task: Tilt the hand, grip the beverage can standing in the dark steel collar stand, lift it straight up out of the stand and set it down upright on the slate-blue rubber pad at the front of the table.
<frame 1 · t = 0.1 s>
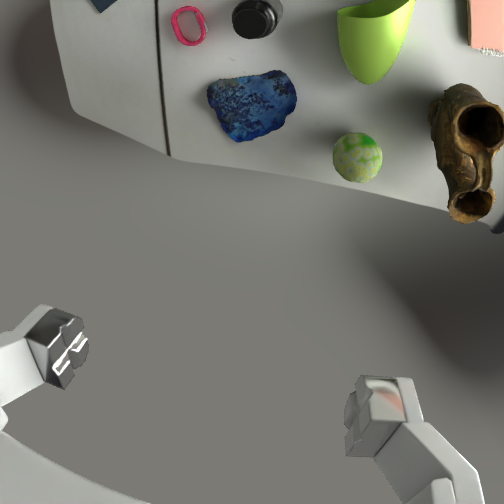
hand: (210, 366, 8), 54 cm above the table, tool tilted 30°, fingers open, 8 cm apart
supplement bottle: (263, 9, 42), on the table
fitness band: (190, 25, 46), on the table
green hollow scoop: (372, 28, 41), on the table
pottery vessel: (450, 118, 50), on the table
rock: (254, 102, 58), on the table
decorative ball: (356, 142, 61), on the table
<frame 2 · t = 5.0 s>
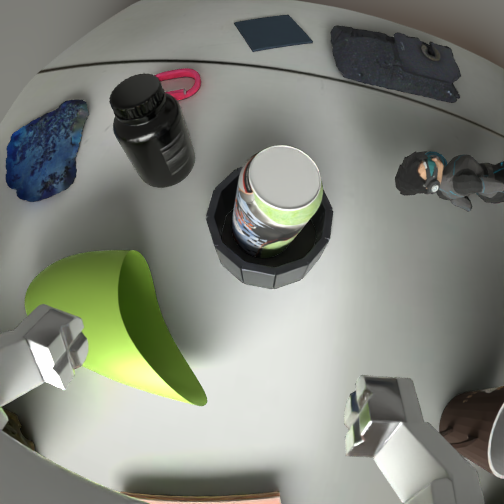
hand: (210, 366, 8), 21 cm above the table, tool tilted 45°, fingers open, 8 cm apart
can stand: (268, 235, 32), on the table
rubber pad: (272, 32, 44), on the table
beverage can: (268, 235, 32), resting in can stand
supplement bottle: (167, 165, 35), on the table
fitness band: (172, 89, 40), on the table
coffee mug: (452, 416, 25), on the table
dark slate chunk: (394, 63, 42), on the table
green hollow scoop: (118, 324, 30), on the table
pottery vessel: (7, 445, 24), on the table
rock: (46, 154, 37), on the table
figurine: (474, 187, 34), on the table
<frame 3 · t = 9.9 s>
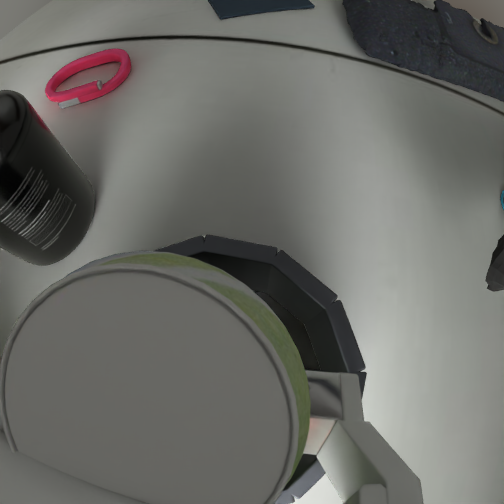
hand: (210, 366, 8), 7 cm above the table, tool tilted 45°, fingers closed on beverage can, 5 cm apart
can stand: (223, 377, 15), on the table
beverage can: (208, 374, 15), resting in can stand, touching gripper
supplement bottle: (55, 219, 18), on the table
fitness band: (90, 83, 23), on the table
dark slate chunk: (435, 43, 25), on the table
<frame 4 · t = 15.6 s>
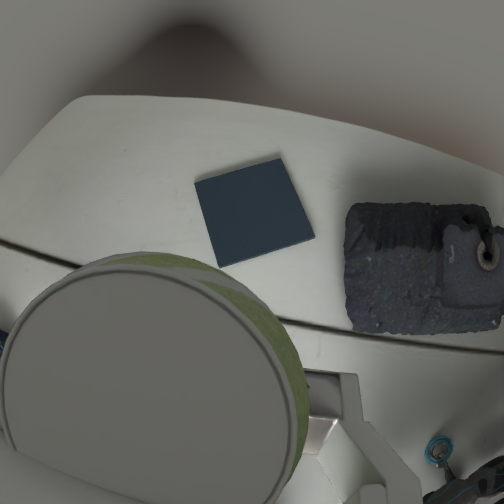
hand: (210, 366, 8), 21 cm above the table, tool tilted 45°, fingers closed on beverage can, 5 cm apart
rubber pad: (252, 209, 34), on the table
beverage can: (207, 374, 15), point 14 cm above the table, touching gripper
dark slate chunk: (432, 265, 31), on the table
figurine: (475, 458, 24), on the table
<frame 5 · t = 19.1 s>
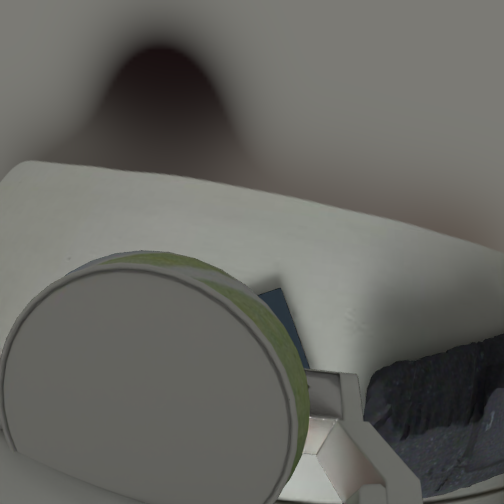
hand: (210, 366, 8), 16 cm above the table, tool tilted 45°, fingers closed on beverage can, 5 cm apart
rubber pad: (239, 369, 23), on the table
beverage can: (207, 374, 15), point 9 cm above the table, touching gripper
dark slate chunk: (463, 416, 21), on the table
when the fingers open (7 cm above the table, at t = 21.9 s): beverage can stays where it is, resting on rubber pad.
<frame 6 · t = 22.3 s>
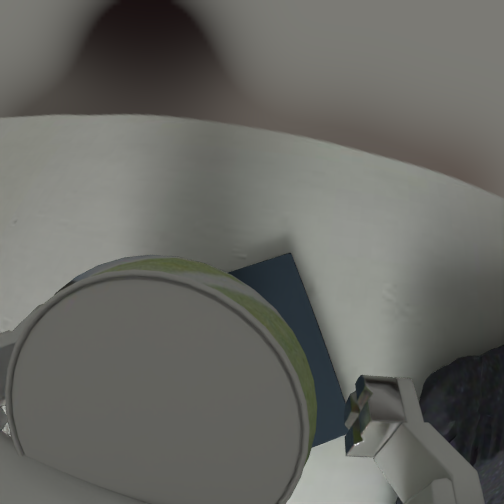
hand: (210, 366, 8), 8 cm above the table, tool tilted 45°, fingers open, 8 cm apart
rubber pad: (228, 374, 15), on the table
beverage can: (206, 373, 15), resting on rubber pad
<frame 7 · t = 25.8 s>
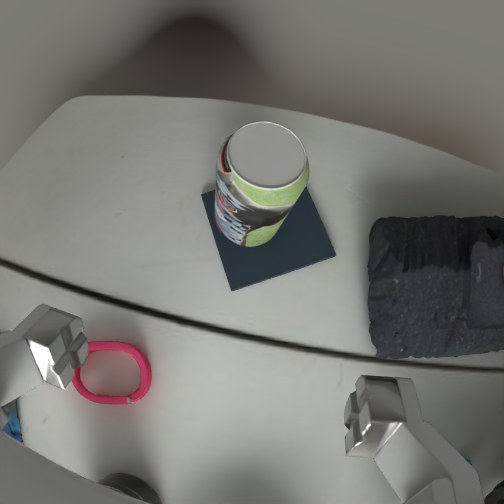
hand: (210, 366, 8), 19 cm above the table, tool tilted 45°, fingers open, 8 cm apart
rubber pad: (266, 224, 30), on the table
beverage can: (254, 223, 30), resting on rubber pad
supplement bottle: (131, 499, 22), on the table
fitness band: (112, 372, 26), on the table
dark slate chunk: (456, 283, 28), on the table
figurine: (492, 475, 21), on the table
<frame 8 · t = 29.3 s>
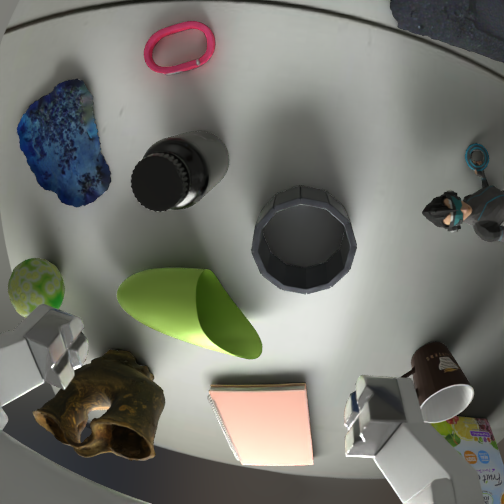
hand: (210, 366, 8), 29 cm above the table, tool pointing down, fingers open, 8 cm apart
can stand: (303, 231, 37), on the table
supplement bottle: (201, 158, 35), on the table
fitness band: (181, 48, 30), on the table
notebook: (266, 427, 55), on the table
snack box: (446, 424, 50), on the table
coffee mug: (423, 353, 43), on the table
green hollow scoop: (192, 294, 44), on the table
pottery vessel: (125, 367, 53), on the table
rock: (66, 146, 37), on the table
decorative ball: (54, 273, 47), on the table
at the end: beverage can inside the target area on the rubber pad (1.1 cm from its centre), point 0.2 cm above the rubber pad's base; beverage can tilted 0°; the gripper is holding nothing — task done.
